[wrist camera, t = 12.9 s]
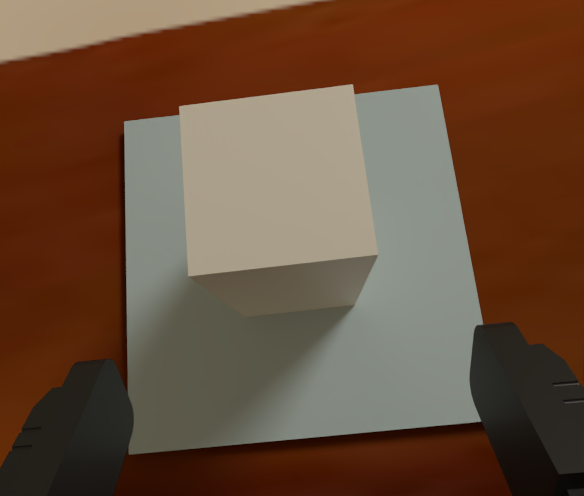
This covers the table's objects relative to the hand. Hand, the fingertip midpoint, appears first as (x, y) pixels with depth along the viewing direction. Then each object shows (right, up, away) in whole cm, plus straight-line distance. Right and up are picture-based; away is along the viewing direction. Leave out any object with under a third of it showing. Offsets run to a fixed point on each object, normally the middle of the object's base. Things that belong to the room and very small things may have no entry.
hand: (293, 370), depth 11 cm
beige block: (0, +2, +12) cm, 12 cm away
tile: (0, +2, +13) cm, 13 cm away
